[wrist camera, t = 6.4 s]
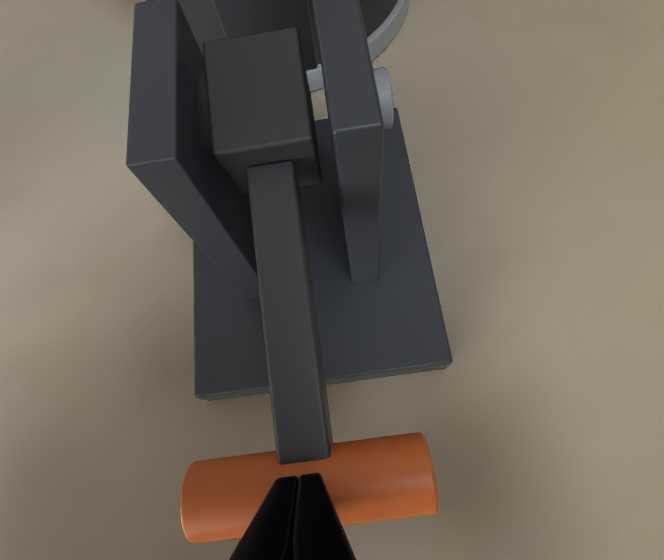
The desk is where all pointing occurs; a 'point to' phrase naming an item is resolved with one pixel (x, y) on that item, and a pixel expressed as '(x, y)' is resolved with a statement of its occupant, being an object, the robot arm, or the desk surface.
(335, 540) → the robot arm
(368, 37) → the kettle
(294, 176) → the switch lever
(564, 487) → the desk surface
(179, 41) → the switch base
